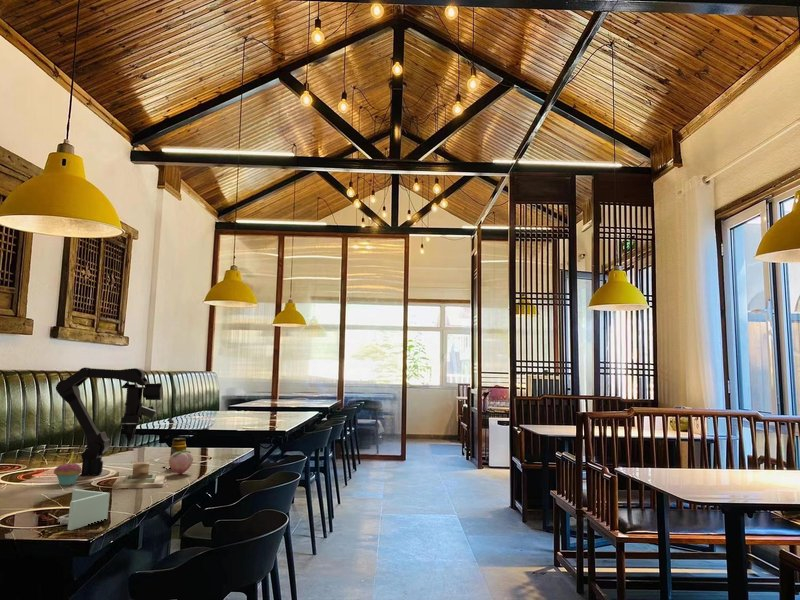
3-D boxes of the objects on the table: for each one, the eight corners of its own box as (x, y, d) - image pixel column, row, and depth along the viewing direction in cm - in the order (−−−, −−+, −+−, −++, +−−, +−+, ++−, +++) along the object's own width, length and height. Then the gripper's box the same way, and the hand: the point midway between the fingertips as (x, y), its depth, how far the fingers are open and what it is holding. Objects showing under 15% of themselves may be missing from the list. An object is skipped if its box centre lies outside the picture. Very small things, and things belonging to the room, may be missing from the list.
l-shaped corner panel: (72, 517, 157) (75, 489, 158) (107, 521, 154) (109, 492, 155) (34, 527, 146) (37, 497, 147) (70, 532, 142) (73, 501, 143)
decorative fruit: (177, 471, 226) (178, 446, 227) (195, 473, 224) (197, 447, 226) (162, 475, 217) (164, 449, 218) (181, 477, 215) (183, 450, 217)
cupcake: (85, 483, 200) (89, 448, 201) (63, 487, 192) (66, 451, 194) (70, 480, 203) (73, 447, 205) (47, 484, 196) (50, 449, 197)
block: (131, 481, 198) (133, 464, 199) (133, 479, 203) (134, 462, 204) (147, 481, 200) (148, 463, 201) (148, 478, 205) (149, 461, 206)
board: (112, 489, 191) (112, 481, 192) (117, 480, 206) (118, 473, 206) (162, 486, 197) (163, 479, 197) (164, 478, 212) (165, 472, 212)
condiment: (188, 467, 236) (190, 438, 238) (168, 469, 230) (170, 440, 232) (181, 465, 241) (183, 437, 243) (161, 467, 236) (163, 438, 237)
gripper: (154, 401, 217) (151, 442, 215) (157, 398, 234) (154, 437, 232) (122, 401, 213) (119, 443, 211) (127, 398, 230) (124, 437, 228)
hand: (130, 440), depth 221 cm, fingers open, 9 cm apart
